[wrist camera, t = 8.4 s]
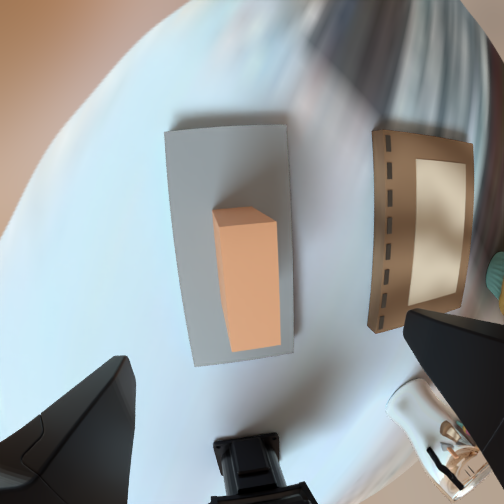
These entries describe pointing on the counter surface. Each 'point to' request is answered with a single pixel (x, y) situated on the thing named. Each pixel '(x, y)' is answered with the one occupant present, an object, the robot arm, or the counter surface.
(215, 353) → the gray plate with block
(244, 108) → the counter surface
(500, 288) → the cupcake
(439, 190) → the block
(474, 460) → the beer glass
